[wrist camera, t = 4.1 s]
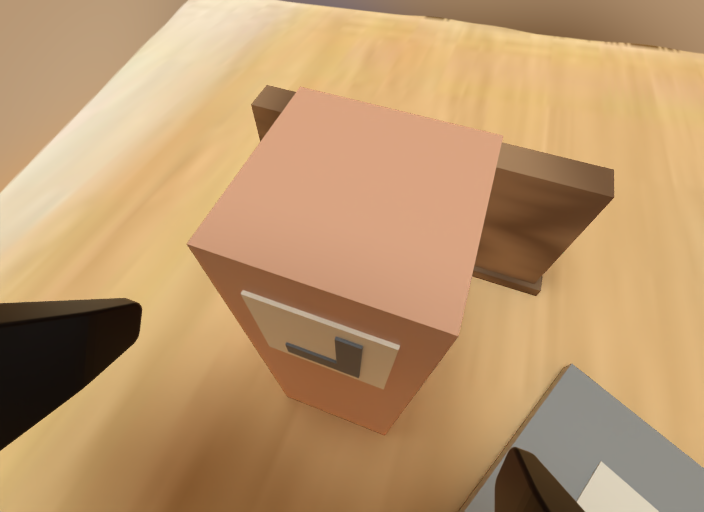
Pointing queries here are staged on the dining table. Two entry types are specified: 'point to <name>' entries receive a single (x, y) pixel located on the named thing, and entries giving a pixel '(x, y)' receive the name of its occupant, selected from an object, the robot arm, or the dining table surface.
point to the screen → (514, 205)
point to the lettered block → (351, 249)
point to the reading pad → (600, 454)
